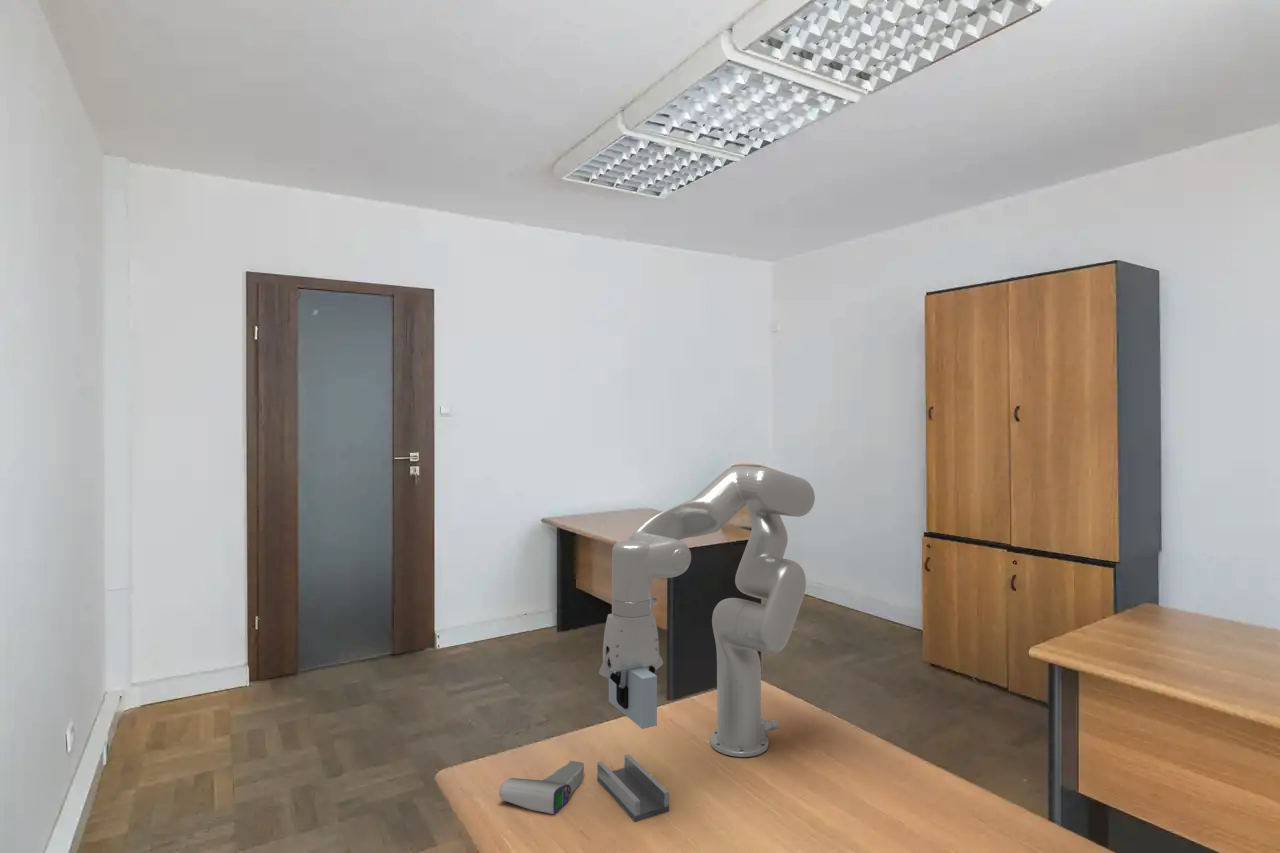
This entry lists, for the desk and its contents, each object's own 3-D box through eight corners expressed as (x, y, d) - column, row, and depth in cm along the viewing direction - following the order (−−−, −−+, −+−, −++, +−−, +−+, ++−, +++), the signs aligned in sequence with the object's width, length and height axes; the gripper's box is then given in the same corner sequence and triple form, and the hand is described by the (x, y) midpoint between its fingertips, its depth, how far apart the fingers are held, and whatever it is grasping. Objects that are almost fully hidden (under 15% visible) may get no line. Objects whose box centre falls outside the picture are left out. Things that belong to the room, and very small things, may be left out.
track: (597, 780, 135) (597, 762, 135) (629, 771, 138) (628, 754, 138) (635, 821, 121) (634, 802, 121) (669, 811, 124) (669, 791, 124)
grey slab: (608, 701, 135) (608, 655, 135) (622, 698, 136) (622, 653, 136) (642, 729, 123) (642, 678, 123) (656, 725, 124) (656, 675, 124)
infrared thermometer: (588, 782, 137) (557, 818, 122) (533, 773, 140) (497, 807, 126) (589, 758, 137) (558, 792, 123) (534, 750, 140) (497, 781, 126)
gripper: (659, 597, 137) (659, 690, 137) (584, 607, 129) (583, 705, 129) (679, 606, 130) (679, 703, 130) (600, 617, 122) (600, 720, 122)
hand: (631, 703), depth 129 cm, fingers closed on grey slab, 3 cm apart
